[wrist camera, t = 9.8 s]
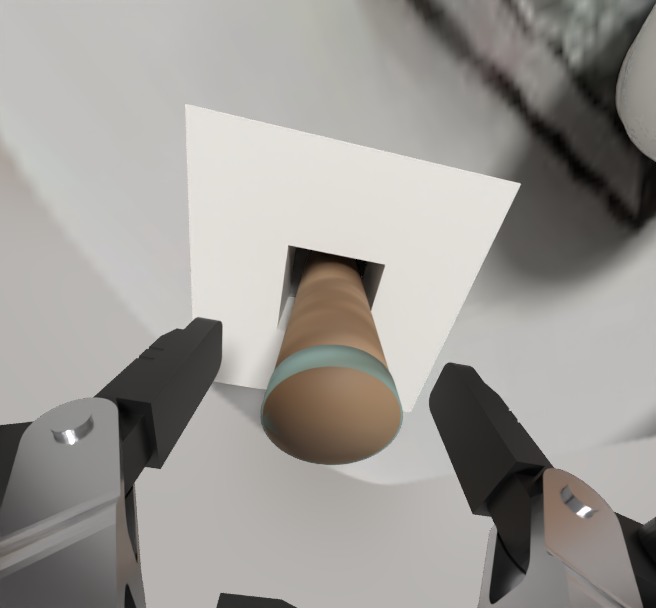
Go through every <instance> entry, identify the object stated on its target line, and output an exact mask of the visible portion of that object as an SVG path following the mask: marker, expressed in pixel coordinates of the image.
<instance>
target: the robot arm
mask: <svg viewBox="0 0 656 608" xmlns="http://www.w3.org/2000/svg"><path fill="white" fill-rule="evenodd" d="M222 332H223V326H222V322H221V321H218V320H213V319H207V318H202V317H196V318H195V319H194V320H193V321H192V322H191V323H190V324H189V325H188V326H187V327H186V328H185V329H184V330H183V329H175V330H173V331H171V332H169V333H167V334H165V335H162V336H161V337H159V338H158V339H157V340H156V341H155V342H154V343H153V344H152V345H151V346H150V347H149V349H146V350H145V351H144V352H143V353H142V354H141V355H140V356H139V358H136V359H135V360H134V361H133V362H132V363H131V364H130V365H129V366H127V367H126V369H124V370H123V371H122V372H121V373H120V374H119V375H118V376H116V377H115V378H114V379H113V380H112V381H111V382H110V383H109V384H108V385H107V386H105V387H104V388H103V389H102V390H101V391H100V392H99V393H98V394H97V395H95V396H94V397H93V398H83V399H78V400H74V401H71V402H67V403H65V404H62V405H60V406H58V407H56V408H53V409H51V410H50V411H48V412H46V413H45V414H43V415H42V416H40V417H39V418H37V420H35V421H34V422H26V423H18V424H17V423H16V424H7V425H0V608H146V603H145V594H144V587H143V581H142V573H141V563H140V549H139V535H138V521H137V507H136V494H135V484H134V482H135V481H136V479H137V478H138V476H139V475H140V473H141V472H142V470H143V469H144V467H151V468H157V469H161V467H162V466H163V464H164V462H165V460H166V459H167V457H168V455H169V454H170V452H171V450H172V449H173V447H174V446H175V444H176V442H177V441H178V439H179V437H180V436H181V434H182V432H183V431H184V429H185V427H186V426H187V424H188V422H189V421H190V419H191V417H192V416H193V414H194V412H195V411H196V409H197V407H198V406H199V404H200V402H201V401H202V399H203V397H204V396H205V394H206V392H207V391H208V389H209V387H210V386H211V384H212V382H213V381H214V379H215V377H216V376H217V374H218V371H219V369H220V366H221V361H222ZM429 407H430V411H431V414H432V416H433V419H434V421H435V424H436V426H437V429H438V431H439V433H440V436H441V438H442V441H443V443H444V446H445V448H446V450H447V453H448V455H449V458H450V460H451V463H452V465H453V467H454V470H455V472H456V475H457V477H458V479H459V482H460V484H461V487H462V489H463V491H464V494H465V496H466V498H467V501H468V504H469V506H470V508H471V511H472V513H473V514H475V515H482V516H490V517H492V519H493V522H494V523H495V525H494V526H493V527H492V528H491V530H490V533H489V539H488V545H487V552H486V558H485V564H484V571H483V578H482V585H481V591H480V597H479V603H478V607H477V608H656V517H655V518H654V519H652V520H650V521H649V522H648V523H646V524H645V525H643V524H641V523H638V522H636V521H634V520H632V519H629V518H627V517H625V516H622V515H620V514H618V513H616V512H613V510H612V509H611V507H610V506H609V505H608V504H607V503H606V501H605V500H603V498H602V497H601V496H600V495H599V494H598V493H597V492H596V491H595V490H594V489H592V488H591V487H590V486H589V485H587V484H586V483H585V482H583V481H582V480H580V479H579V478H577V477H576V476H574V475H572V474H570V473H568V472H566V471H563V470H560V469H555V468H554V467H553V466H552V465H551V463H550V462H549V461H548V459H547V458H546V457H545V455H544V454H543V453H542V451H541V450H540V449H539V447H538V446H537V445H536V443H535V442H534V441H533V439H532V438H531V437H530V436H529V434H528V433H527V432H526V430H525V429H524V428H523V426H522V425H521V424H520V423H518V422H517V418H516V417H515V416H514V414H513V413H512V412H511V411H509V408H508V407H507V405H506V404H505V403H504V401H503V400H502V399H501V397H500V396H499V395H498V394H497V393H496V392H495V391H493V390H492V389H491V388H490V387H489V386H488V385H487V384H485V383H484V382H483V380H482V379H481V377H480V376H479V375H478V373H477V372H476V371H475V369H474V368H473V367H471V366H467V365H461V364H456V363H447V364H446V365H445V366H444V368H443V370H442V372H441V374H440V376H439V378H438V380H437V382H436V384H435V386H434V388H433V390H432V392H431V394H430V398H429ZM217 608H296V607H295V606H293V605H291V604H289V603H287V602H285V601H283V600H280V599H271V598H262V597H254V596H244V595H236V594H226V593H221V594H220V597H219V600H218V604H217Z"/></svg>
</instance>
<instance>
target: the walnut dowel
mask: <svg viewBox="0 0 656 608" xmlns="http://www.w3.org/2000/svg"><path fill="white" fill-rule="evenodd" d="M402 420H403V410H402V405H401V402H400V398H399V395H398V392H397V389H396V386H395V382H394V380H393V377H392V375H391V373H390V372H389V369H388V366H387V362H386V359H385V356H384V353H383V349H382V346H381V343H380V339H379V336H378V333H377V330H376V326H375V323H374V320H373V316H372V313H371V310H370V307H369V303H368V300H367V297H366V293H365V290H364V287H363V284H362V280H361V277H360V274H359V270H358V267H357V264H356V261H355V259H354V258H350V257H345V256H340V255H335V254H330V253H325V252H320V251H315V250H314V251H313V252H312V253H311V254H310V255H309V257H308V259H307V261H306V263H305V266H304V270H303V273H302V277H301V280H300V284H299V287H298V290H297V294H296V297H295V301H294V304H293V307H292V311H291V314H290V318H289V321H288V325H287V328H286V331H285V335H284V338H283V342H282V345H281V348H280V352H279V355H278V359H277V362H276V366H275V369H274V372H273V374H272V375H271V378H270V380H269V383H268V386H267V390H266V393H265V396H264V400H263V403H262V407H261V422H262V426H263V429H264V431H265V433H266V434H267V436H268V437H269V439H270V440H271V441H272V442H273V443H274V444H275V445H276V446H277V447H278V448H279V449H281V450H282V451H284V452H285V453H287V454H289V455H291V456H293V457H295V458H297V459H300V460H303V461H307V462H310V463H316V464H324V465H340V464H348V463H353V462H357V461H361V460H364V459H367V458H369V457H371V456H373V455H375V454H377V453H379V452H380V451H382V450H383V449H384V448H386V447H387V446H388V445H389V444H390V443H391V442H392V441H393V440H394V438H395V437H396V436H397V434H398V432H399V430H400V428H401V425H402Z"/></svg>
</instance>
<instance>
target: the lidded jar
mask: <svg viewBox="0 0 656 608" xmlns="http://www.w3.org/2000/svg"><path fill="white" fill-rule="evenodd" d="M615 101H616V109H617V113H618V116H619V118H620V120H621V122H622V124H623V125H624V127H625V130H626V132H627V134H628V136H629V138H630V140H631V141H632V142H633V143H634V144H635V145H636V147H637V148H638V149H639V150H640V151H641V152H643V153H644V154H645V155H646V156H648V157H649V158H651V159H652V160H654V161H655V162H656V4H655V5H654V7H653V9H652V10H651V12H650V14H649V16H648V17H647V19H646V21H645V22H644V24H643V26H642V28H641V30H640V32H639V33H638V34H637V36H636V38H635V39H634V41H633V43H632V44H631V46H630V48H629V50H628V52H627V54H626V56H625V58H624V60H623V63H622V66H621V69H620V72H619V75H618V80H617V84H616V94H615Z"/></svg>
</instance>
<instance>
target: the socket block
mask: <svg viewBox="0 0 656 608" xmlns="http://www.w3.org/2000/svg"><path fill="white" fill-rule="evenodd" d="M185 115H186V144H187V173H188V202H189V231H190V260H191V289H192V319H193V320H194V319H195V318H196V317H202V318H207V319H213V320H218V321H221V322H222V326H223V332H222V361H221V366H220V369H219V371H218V374H217V376H216V377H215V379H214V381H213V382H219V383H225V384H231V385H238V386H244V387H251V388H257V389H263V390H267V386H268V383H269V380H270V378H271V375H272V374H273V372H274V369H275V366H276V362H277V359H278V355H279V352H280V348H281V345H282V342H283V338H284V335H285V331H286V328H287V325H288V321H289V318H290V314H291V311H292V307H293V304H294V301H295V297H291V296H289V291H290V285H291V278H292V271H293V264H294V258H295V251H296V247H300V248H305V249H310V250H315V251H320V252H325V253H330V254H335V255H340V256H345V257H350V258H355V259H360V260H365V261H367V264H366V268H365V272H364V275H363V279H362V284H363V287H364V290H365V293H366V297H367V300H368V303H369V307H370V310H371V313H372V316H373V320H374V323H375V326H376V330H377V333H378V336H379V339H380V343H381V346H382V349H383V353H384V356H385V359H386V362H387V366H388V369H389V372H390V373H391V375H392V377H393V380H394V382H395V386H396V389H397V392H398V395H399V398H400V402H401V405H402V410H403V411H404V412H411V410H412V408H413V406H414V404H415V402H416V400H417V398H418V396H419V394H420V392H421V390H422V388H423V386H424V384H425V381H426V379H427V377H428V375H429V373H430V371H431V369H432V367H433V365H434V363H435V361H436V359H437V357H438V355H439V353H440V351H441V348H442V346H443V344H444V342H445V340H446V338H447V336H448V334H449V332H450V330H451V328H452V326H453V324H454V322H455V320H456V317H457V315H458V313H459V311H460V309H461V307H462V305H463V303H464V301H465V299H466V297H467V295H468V293H469V291H470V289H471V286H472V284H473V282H474V280H475V278H476V276H477V274H478V272H479V270H480V268H481V266H482V264H483V262H484V260H485V258H486V255H487V253H488V251H489V249H490V247H491V245H492V243H493V241H494V239H495V237H496V235H497V233H498V231H499V229H500V227H501V225H502V222H503V220H504V218H505V216H506V214H507V212H508V210H509V208H510V206H511V204H512V202H513V200H514V198H515V196H516V194H517V191H518V189H519V187H520V185H521V184H520V183H516V182H512V181H508V180H503V179H499V178H495V177H491V176H487V175H482V174H478V173H474V172H470V171H466V170H461V169H457V168H453V167H449V166H445V165H440V164H436V163H432V162H428V161H424V160H419V159H415V158H411V157H407V156H403V155H398V154H394V153H390V152H386V151H382V150H377V149H373V148H369V147H365V146H361V145H357V144H352V143H348V142H344V141H340V140H336V139H331V138H327V137H323V136H319V135H315V134H310V133H306V132H302V131H298V130H294V129H289V128H285V127H281V126H277V125H273V124H268V123H264V122H260V121H256V120H252V119H247V118H243V117H239V116H235V115H231V114H226V113H222V112H218V111H214V110H210V109H205V108H201V107H197V106H193V105H189V104H185Z"/></svg>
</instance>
